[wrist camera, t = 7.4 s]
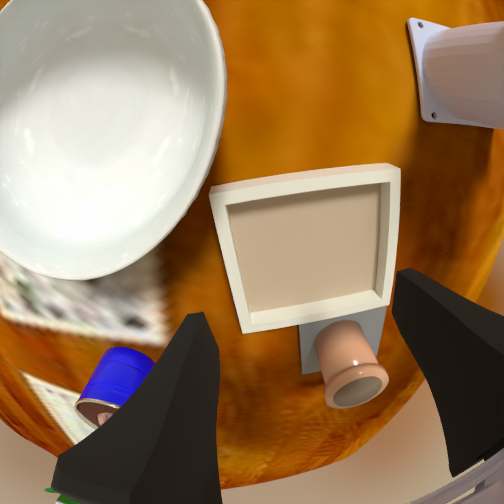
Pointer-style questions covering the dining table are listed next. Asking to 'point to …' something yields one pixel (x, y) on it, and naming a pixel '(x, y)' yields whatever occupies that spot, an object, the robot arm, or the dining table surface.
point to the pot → (348, 365)
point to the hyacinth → (110, 389)
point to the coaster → (308, 331)
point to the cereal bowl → (103, 128)
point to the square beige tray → (309, 243)
